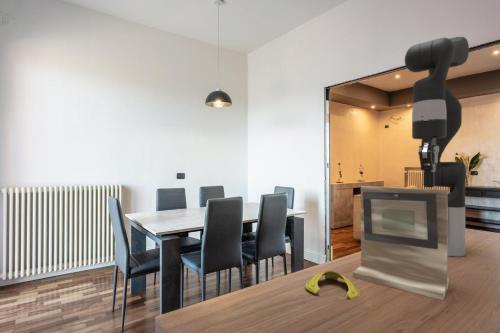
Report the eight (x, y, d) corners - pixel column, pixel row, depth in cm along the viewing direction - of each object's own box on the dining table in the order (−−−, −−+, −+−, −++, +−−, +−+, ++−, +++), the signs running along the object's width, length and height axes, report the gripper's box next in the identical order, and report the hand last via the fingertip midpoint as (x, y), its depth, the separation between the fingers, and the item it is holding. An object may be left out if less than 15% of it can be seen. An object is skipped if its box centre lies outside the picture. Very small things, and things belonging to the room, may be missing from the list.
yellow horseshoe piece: (331, 277, 84) (330, 263, 84) (368, 294, 73) (368, 278, 73) (297, 288, 77) (297, 272, 77) (333, 308, 66) (333, 290, 66)
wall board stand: (366, 265, 92) (366, 185, 92) (449, 283, 78) (449, 188, 78) (352, 277, 83) (352, 188, 83) (443, 300, 69) (443, 192, 68)
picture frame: (366, 238, 85) (364, 191, 85) (438, 247, 73) (436, 193, 73) (364, 240, 83) (362, 192, 83) (437, 249, 72) (434, 194, 72)
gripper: (417, 123, 81) (417, 184, 81) (406, 118, 71) (406, 188, 71) (449, 121, 76) (449, 186, 76) (442, 115, 66) (442, 190, 66)
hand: (428, 187), depth 74 cm, fingers closed
